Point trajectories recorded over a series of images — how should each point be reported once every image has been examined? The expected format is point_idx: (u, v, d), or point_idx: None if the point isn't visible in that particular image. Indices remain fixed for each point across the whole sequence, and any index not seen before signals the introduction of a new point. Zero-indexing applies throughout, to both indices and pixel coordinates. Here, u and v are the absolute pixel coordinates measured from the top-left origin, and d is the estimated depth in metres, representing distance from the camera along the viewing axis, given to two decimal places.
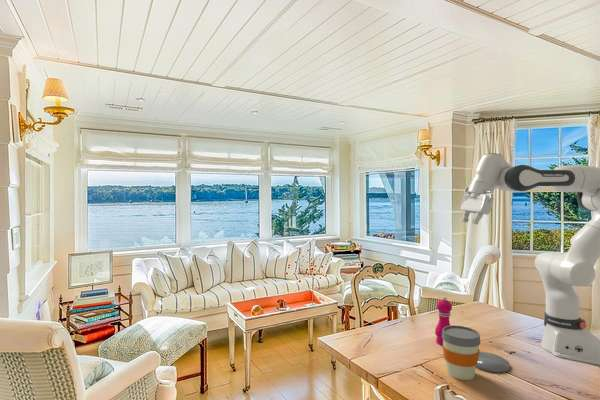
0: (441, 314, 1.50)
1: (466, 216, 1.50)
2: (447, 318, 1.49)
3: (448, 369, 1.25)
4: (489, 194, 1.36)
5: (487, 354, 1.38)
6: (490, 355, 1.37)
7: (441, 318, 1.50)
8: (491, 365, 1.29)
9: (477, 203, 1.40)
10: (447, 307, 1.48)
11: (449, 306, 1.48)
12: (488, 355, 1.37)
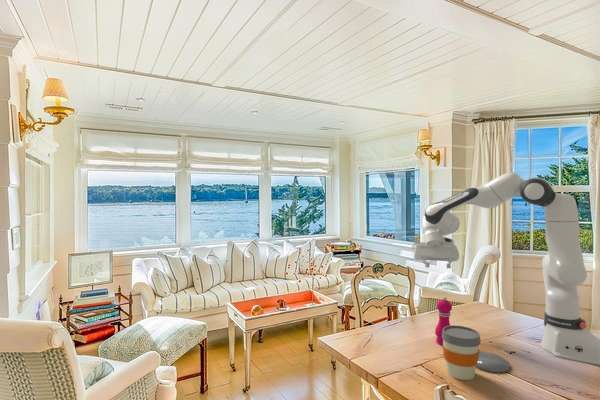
0: (441, 314, 1.50)
1: (449, 263, 1.64)
2: (447, 318, 1.49)
3: (448, 369, 1.25)
4: None
5: (487, 354, 1.38)
6: (490, 355, 1.37)
7: (441, 318, 1.50)
8: (491, 365, 1.29)
9: None
10: (447, 307, 1.48)
11: (449, 306, 1.48)
12: (488, 355, 1.37)
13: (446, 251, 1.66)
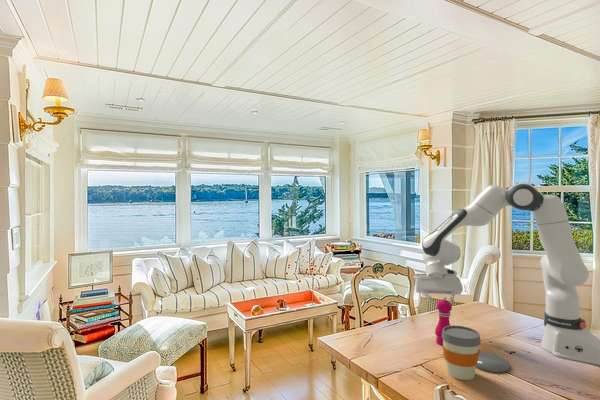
0: (441, 314, 1.50)
1: (452, 296, 1.58)
2: (447, 318, 1.49)
3: (448, 369, 1.25)
4: None
5: (487, 354, 1.38)
6: (490, 355, 1.37)
7: (441, 318, 1.50)
8: (491, 365, 1.29)
9: None
10: (447, 307, 1.48)
11: (449, 306, 1.48)
12: (488, 355, 1.37)
13: (449, 284, 1.60)
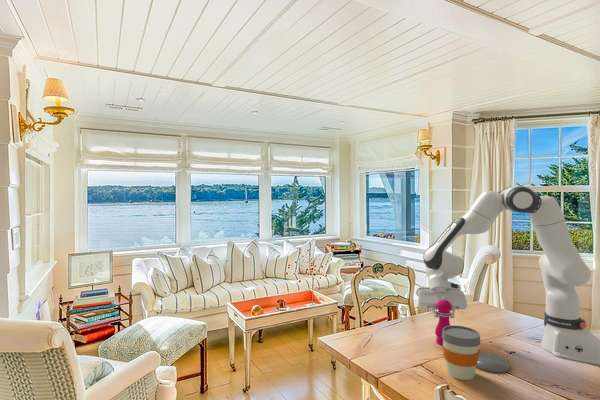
0: (441, 314, 1.50)
1: (452, 312, 1.52)
2: (447, 318, 1.49)
3: (448, 369, 1.25)
4: None
5: (487, 354, 1.38)
6: (490, 355, 1.37)
7: (441, 318, 1.50)
8: (491, 365, 1.29)
9: None
10: (447, 307, 1.48)
11: (449, 306, 1.48)
12: (488, 355, 1.37)
13: (453, 298, 1.54)
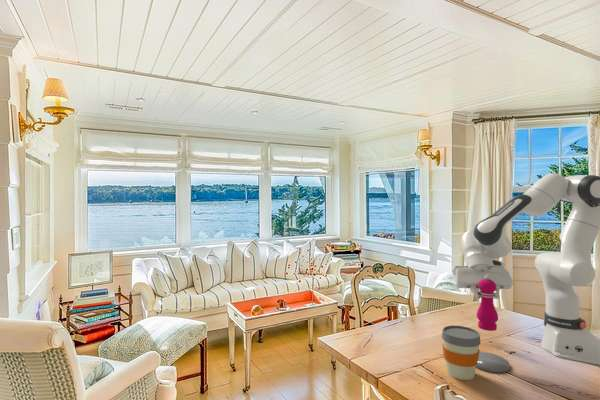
0: (484, 295, 1.32)
1: (496, 292, 1.34)
2: (491, 299, 1.32)
3: (448, 369, 1.25)
4: None
5: (487, 354, 1.38)
6: (490, 355, 1.37)
7: (484, 299, 1.32)
8: (491, 365, 1.29)
9: None
10: (491, 287, 1.31)
11: (493, 285, 1.31)
12: (488, 355, 1.37)
13: (496, 277, 1.36)
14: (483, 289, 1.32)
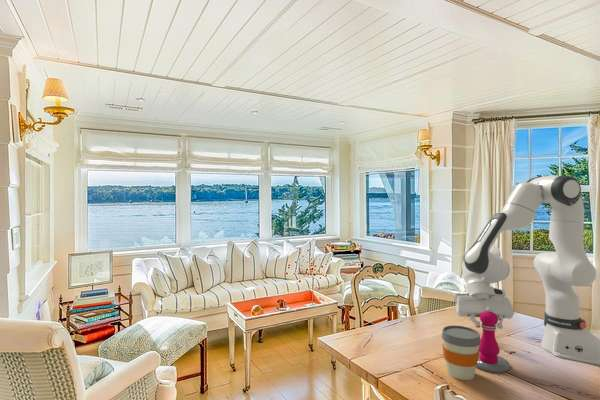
0: (486, 327, 1.31)
1: (499, 321, 1.33)
2: (493, 332, 1.31)
3: (448, 369, 1.25)
4: None
5: None
6: None
7: (486, 332, 1.32)
8: (491, 365, 1.29)
9: None
10: (493, 320, 1.30)
11: (495, 318, 1.30)
12: None
13: (498, 306, 1.36)
14: (485, 322, 1.31)
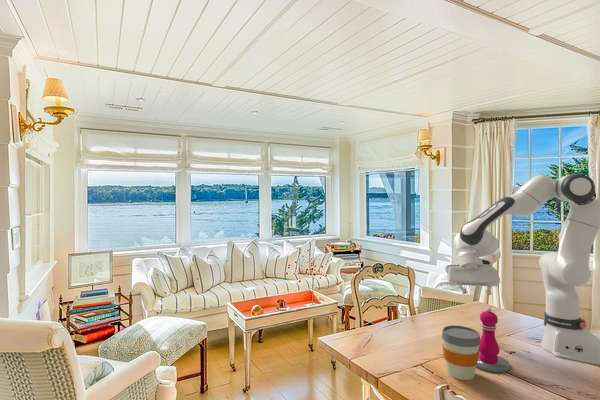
0: (486, 327, 1.32)
1: None
2: (493, 332, 1.31)
3: (448, 369, 1.25)
4: None
5: None
6: None
7: (486, 332, 1.32)
8: (491, 365, 1.29)
9: None
10: (493, 320, 1.30)
11: (495, 318, 1.31)
12: None
13: (485, 275, 1.49)
14: (485, 322, 1.31)
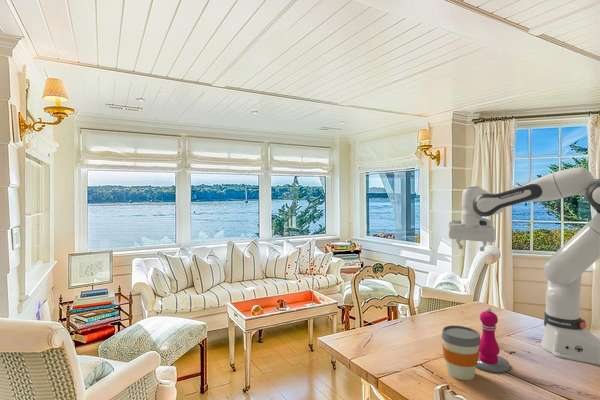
0: (486, 327, 1.31)
1: (483, 245, 1.64)
2: (493, 332, 1.31)
3: (448, 369, 1.25)
4: None
5: None
6: None
7: (486, 332, 1.32)
8: (491, 365, 1.29)
9: None
10: (493, 320, 1.30)
11: (495, 318, 1.30)
12: None
13: (481, 234, 1.63)
14: (485, 322, 1.31)
